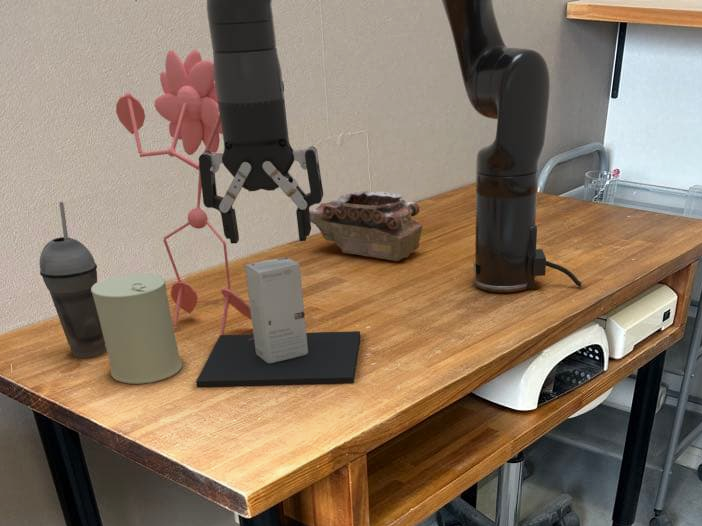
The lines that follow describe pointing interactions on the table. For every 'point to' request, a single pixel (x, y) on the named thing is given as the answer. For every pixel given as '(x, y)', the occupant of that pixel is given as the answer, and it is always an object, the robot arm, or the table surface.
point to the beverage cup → (73, 292)
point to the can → (137, 327)
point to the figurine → (186, 148)
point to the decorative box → (370, 224)
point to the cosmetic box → (277, 309)
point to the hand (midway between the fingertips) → (269, 240)
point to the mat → (282, 362)
